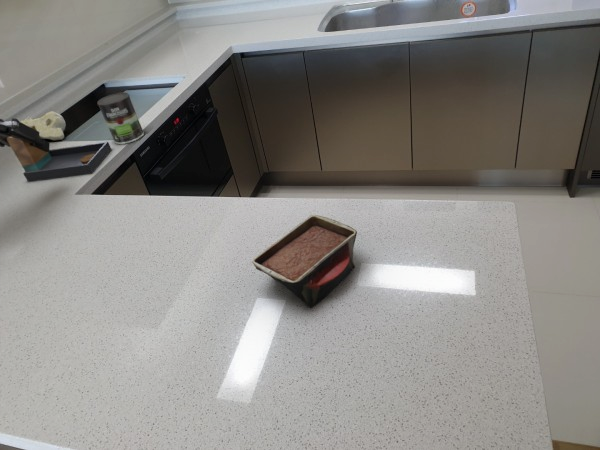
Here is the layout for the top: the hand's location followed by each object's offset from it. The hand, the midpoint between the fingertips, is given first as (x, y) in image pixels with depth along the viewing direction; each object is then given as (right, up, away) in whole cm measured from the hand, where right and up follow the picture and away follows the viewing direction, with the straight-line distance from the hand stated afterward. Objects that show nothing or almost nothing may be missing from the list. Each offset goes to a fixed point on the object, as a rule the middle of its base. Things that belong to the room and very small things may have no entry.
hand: (40, 148), depth 128 cm
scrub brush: (0, -5, -1) cm, 5 cm away
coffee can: (+14, +9, +30) cm, 34 cm away
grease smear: (+6, -1, +18) cm, 19 cm away
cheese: (-21, +10, +42) cm, 48 cm away
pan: (-1, -2, +19) cm, 19 cm away
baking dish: (+75, -31, -42) cm, 91 cm away
